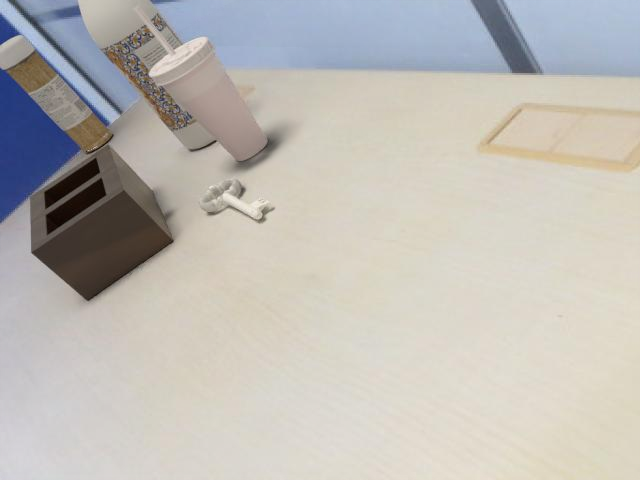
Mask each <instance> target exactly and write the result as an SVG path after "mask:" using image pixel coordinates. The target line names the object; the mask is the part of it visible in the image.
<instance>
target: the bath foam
mask: <svg viewBox="0 0 640 480" xmlns="http://www.w3.org/2000/svg"><path fill="white" fill-rule="evenodd" d="M77 4H78V8H79V11H80V15H81V18H82V21H83V23H84V26H85V28H86V30H87V32H88V34H89V35H90V37H91V38H92V40H93V41H94V42H95V44H96V45H97V47H98V48H99V50H100V51H101V52H102V54H104V56H105V57H106V58H107V59H108V60H109V61H110V62H111V63H112V65H113V66H114V67H115V68H116V69H117V70H118V72H119V73H120V74H121V75H122V76H123V78H124V79H125V80H126V81H127V82H128V83H129V84H130V86H131V87H132V88H133V89H134V90H135V92H136V93H137V94H138V95H139V96H140V97H141V98H142V99H143V101H144V102H145V103H146V104H147V105H148V107H149V108H150V109H151V110H152V111H153V112H154V113H155V114H156V116H157V117H158V118H159V120H161V122H162V123H163V124H164V125H165V126H166V128H167V129H168V130H169V131H170V132H171V133H172V134H173V135H174V136H175V137H176V139H177V140H178V141H179V142H180V143H181V144H182V146H183V147H184V148H186V149H187V150H198V149H201V148H204V147H207V146H208V145H210V144H211V143H213V142H215V141H217V140H216V139H215V138H214V137H212V136H211V135H210V134H209V133H208V132H207V131H206V130H205V129H204V128H203V127H202V126H201V125H200V124H199V123H198V122H197V121H196V120H195V119H194V118H193V117H192V116H191V115H190V114H189V113H188V112H187V111H186V110H185V109H184V108H183V107H182V106H181V105H180V104H179V103H178V102H177V101H176V100H175V99H174V98H173V97H172V96H171V95H170V94H169V93H168V92H167V91H166V90H165V89H164V88H163V87H162V86H157V85H156V84H155V82H154V81H153V80H152V79H151V77H150V76H149V72H150V70H151V69H152V68H153V66H154V65H155V64H157V63H158V62H159V61H160V60H161V59H162V58H164V56H166V55H168V54H169V53H168V52H167V51H166V49H165V48H164V47H163V46H162V44H161V43H160V42H159V41H158V39H157V38H156V37H155V36H154V34H153V33H152V32H151V31H150V29H149V28H148V27H147V26H146V24H145V23H144V22H143V21H142V19H141V18H140V17H139V16H138V14H137V13H136V12H135V11H134V8H136V7H137V6H139V7H140V8H141V9H142V10H143V12H144V13H145V14H146V15H147V17H148V18H149V19H150V21H151V22H152V23H153V24H154V26H155V27H156V28H157V29H158V31H159V32H160V33H161V34H162V36H163V37H164V38H165V40H166V41H167V42H168V43H169V45H170V46H171V47H172V48H173V50H175V49H177V48H178V47H180V46H182V45H183V44H185V42H184V41H183V39H182V38H181V37H180V36H179V34H178V33H177V32H176V30H175V29H174V28H173V26H172V25H171V24H170V23H169V21H168V20H167V19H166V18H165V16H164V15H163V14H162V13H161V11H160V10H159V9H158V7H157V6H156V5H155V4H154V3H153V1H151V0H77Z"/></svg>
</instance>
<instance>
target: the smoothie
mask: <svg viewBox="0 0 640 480" xmlns="http://www.w3.org/2000/svg"><path fill="white" fill-rule="evenodd" d="M134 11H135V12H136V13H137V14H138V16H139V17H140V18H141V19H142V21H143V22H144V23H145V24H146V26H147V27H148V28H149V29H150V31H151V32H152V33H153V34H154V36H155V37H156V38H157V39H158V41H159V42H160V43H161V44H162V46H163V47H164V48H165V49H166V51H167V52H168V53H169V54H168V55H166V56H164V58H162V59H161V60H160V61H159V62H158V63H157V64H155V65H154V66H153V68H152V69H151V70H150V72H149V76H150V77H151V79H152V80H153V81H154V82H155V84H156V85H157V86H162V87H163V88H164V89H165V90H166V91H167V92H168V93H169V94H170V95H171V96H172V97H173V98H174V99H175V100H176V101H177V102H178V103H179V104H180V105H181V106H182V107H183V108H184V109H185V110H186V111H187V112H188V113H189V114H190V115H191V116H192V117H193V118H194V119H195V120H196V121H197V122H198V123H199V124H200V125H201V126H202V127H203V128H204V129H205V130H206V131H207V132H208V133H209V134H210V135H211V136H212V137H214V138H215V139H216V140H215V141H216V142H217V143H218V144H219V145H220V146H221V147H222V148H223V149H224V150H225V151H226V152H227V153H228V154H230V155H231V157H233V158H234V160H235V161H236V162H243V161H246V160H249V159H251V158H253V157H254V156H257V154H259V153H260V152H261V151H262V150H263V149H264V148H265V147H266V146H267V144H268V143H269V140H268V138H267V136H266V135H265V133H264V132H263V130H262V128H261V126H260V125H259V123H258V121H257V120H256V118H255V117H254V114H253V113H252V112H251V110H250V108H249V106H248V105H247V103H246V101H245V100H244V98H243V97H242V95H241V93H240V91H239V89H238V88H237V86H236V85H235V84H234V81H233V80H232V78H231V77H230V75H229V74H228V73H227V71H226V68H225V67H224V65H223V64H222V62H221V60H220V59H219V57H218V56H217V54H216V52H215V51H216V46H215V45H214V44H213V43H212V41H211V40H210V39H209V37H208V36H200V37H197V38H194V39H191V40H189V41H187V42H184V44H183V45H182V46H180V47H178V48H177V49H175V50H173V48H172V47H171V46H170V45H169V43H168V42H167V41H166V40H165V38H164V37H163V36H162V34H161V33H160V32H159V31H158V29H157V28H156V27H155V26H154V24H153V23H152V22H151V21H150V19H149V18H148V17H147V15H146V14H145V13H144V12H143V10H142V9H141V8H140V7H139V6H137V7H136V8H134Z"/></svg>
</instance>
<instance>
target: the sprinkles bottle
mask: <svg viewBox="0 0 640 480" xmlns="http://www.w3.org/2000/svg"><path fill="white" fill-rule="evenodd" d="M0 69H1V70H2V71H5V73H7V74H9V76H10V77H11V78H12V79H13V80H14V81H15V82H16V83H17V84H18V85H19V86H20V87H21V88H22V90H23V91H24V92H25V93H27V95H28V96H29V97H30V98H31V99H33V101H34V102H35V103H36V104H37V105H38V106H39V107H40V108H41V110H42V111H43V112H44V113H45V114H46V115H47V116H48V117H49V118H50V119H51V120H52V121H53V122H54V123H55V124H56V125H57V126H58V127H59V128H60V129H61V130H62V131H63V132H65V134H66V135H67V136H69V137H70V138H71V139H72V141H73V142H74V143H75V144H76V145H77V146H78V147H79V148H80V150H81V151H82V152H83V153H86V154H87V153H90V152H93V151H95V150H97V149H99V148H100V147H102V146H103V145H104V144H106V143H107V142H108V141H109V140H110V139H111V138H112V136H113V132H112V130H111V129H110V128H108V127H107V126H106V125H105V124H104V123H103V122H102V121H101V120H100V119H99V118H98V116H97V115H95V113H94V112H93V111H92V109H91V108H90V107H89V106H88V105H87V104H86V102H85V101H83V99H81V97H80V96H79V95H78V94H77V93H76V91H74V90H73V89H72V87H71V86H70V85H69V84H68V82H66V81H65V80H64V79H63V78H62V77H61V75H60V74H59V73H57V72H56V71H55V70H54V69H53V68H52V67H51V66H50V64H49V63H47V62H46V61H45V60H44V59H43V57H42V56H41V55H40V54H39V52H38V51H37V50H36V48H35V46H34V45H33V44H32V43H31V41H29V40H28V39H27V38H26V37H25V36H24V35H23V34H17V35H15V36H14V37H11V38H9V39H8V40H6V41H4V42H3V43H2V44H0ZM111 133H112V134H111ZM96 146H97V147H96ZM94 147H96V148H94ZM93 148H94V149H93ZM91 149H92V150H91ZM88 150H90V151H88ZM86 151H87V152H86Z"/></svg>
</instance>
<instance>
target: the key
mask: <svg viewBox="0 0 640 480" xmlns="http://www.w3.org/2000/svg"><path fill="white" fill-rule="evenodd" d="M242 187H243V186H242V183H241V182H240V180H239V179H237V178H236V177H229V178H226V179H224V180H222V181H220V182H219V183H216V184H215V185H210V186H209V187H208V190H206V193H204V194H202V196H201V198H199V201H198V204H199V207H200V209H201V210H202V211H204V212H206V213H212V212H216V211H218V210H220V209H222V208H223V207H226V206H227V205H230V206H231V207H233V208H235V209H237V210H239V211H240V212H242V213H244V214H245V215H248V216H249V217H251V218H252V219H254V220H261V219H262V218H263V212H262V211H263V210H264V208H265V207H269V205H270V204H271V201H269V200H264V199H263V198H262V197H259V198H258V199H255V200H254V201H252V202H251V203H246V202H245V201H243V200H242V199H240V198H238V197H237V196H238V195H239V194H240V193H241V191H242Z"/></svg>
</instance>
